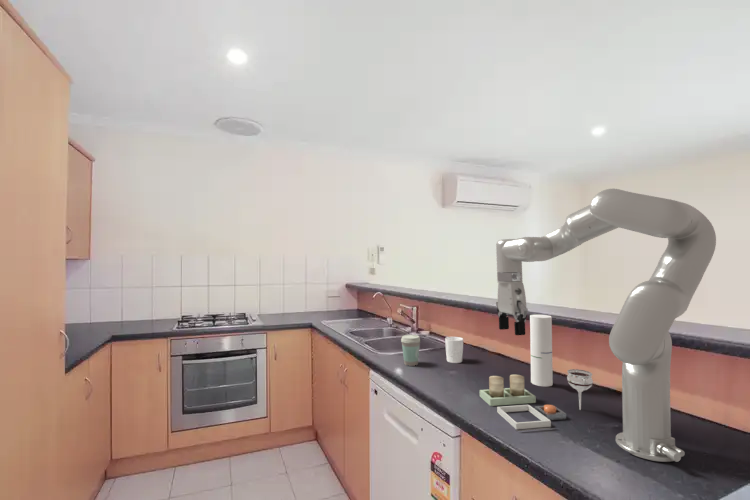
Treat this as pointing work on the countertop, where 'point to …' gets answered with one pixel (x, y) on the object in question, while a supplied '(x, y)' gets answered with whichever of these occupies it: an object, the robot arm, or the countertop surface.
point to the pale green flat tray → (507, 398)
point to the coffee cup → (410, 349)
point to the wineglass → (579, 381)
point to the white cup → (454, 349)
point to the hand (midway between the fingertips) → (511, 332)
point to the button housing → (551, 416)
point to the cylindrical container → (541, 350)
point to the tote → (524, 425)
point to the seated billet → (517, 385)
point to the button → (549, 408)
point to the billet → (496, 386)
